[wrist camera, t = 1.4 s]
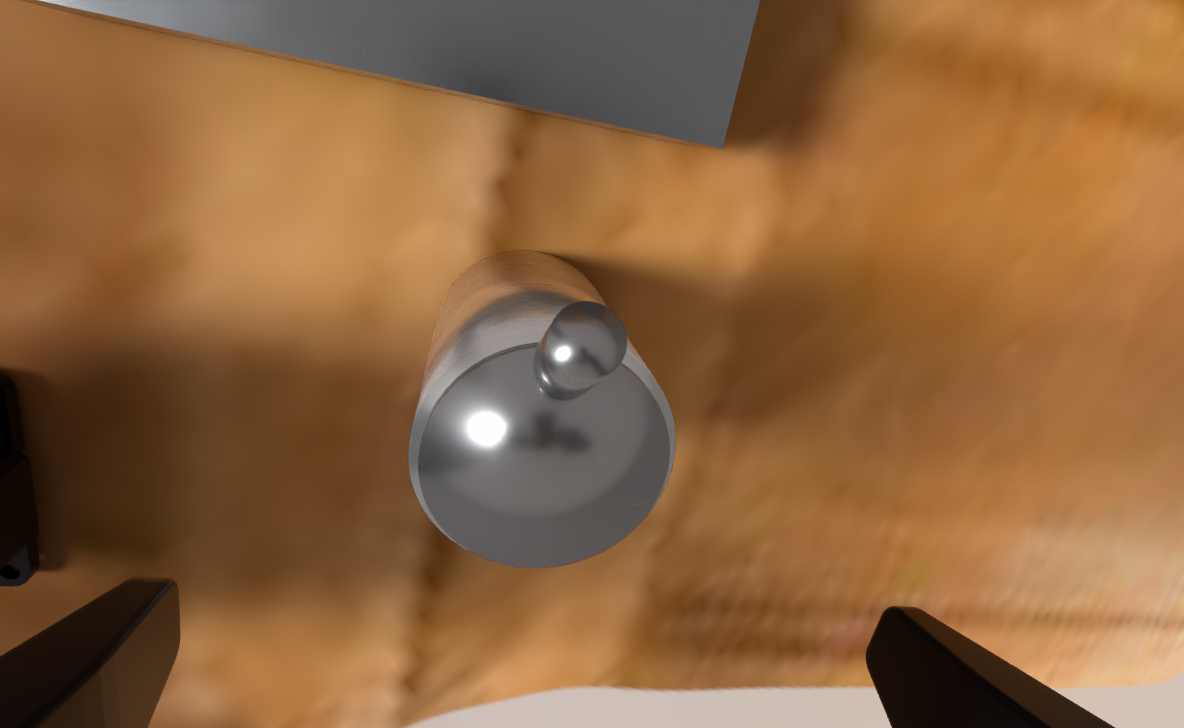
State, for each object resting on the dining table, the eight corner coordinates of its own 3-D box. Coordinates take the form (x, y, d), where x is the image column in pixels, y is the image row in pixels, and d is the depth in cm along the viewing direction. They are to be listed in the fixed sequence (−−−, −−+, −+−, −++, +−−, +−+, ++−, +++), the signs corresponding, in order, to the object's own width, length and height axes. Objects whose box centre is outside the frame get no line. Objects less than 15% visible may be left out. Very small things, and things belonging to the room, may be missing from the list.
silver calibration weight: (426, 403, 18) (382, 632, 10) (449, 203, 16) (417, 287, 8) (590, 421, 19) (667, 639, 11) (630, 235, 17) (759, 338, 9)
